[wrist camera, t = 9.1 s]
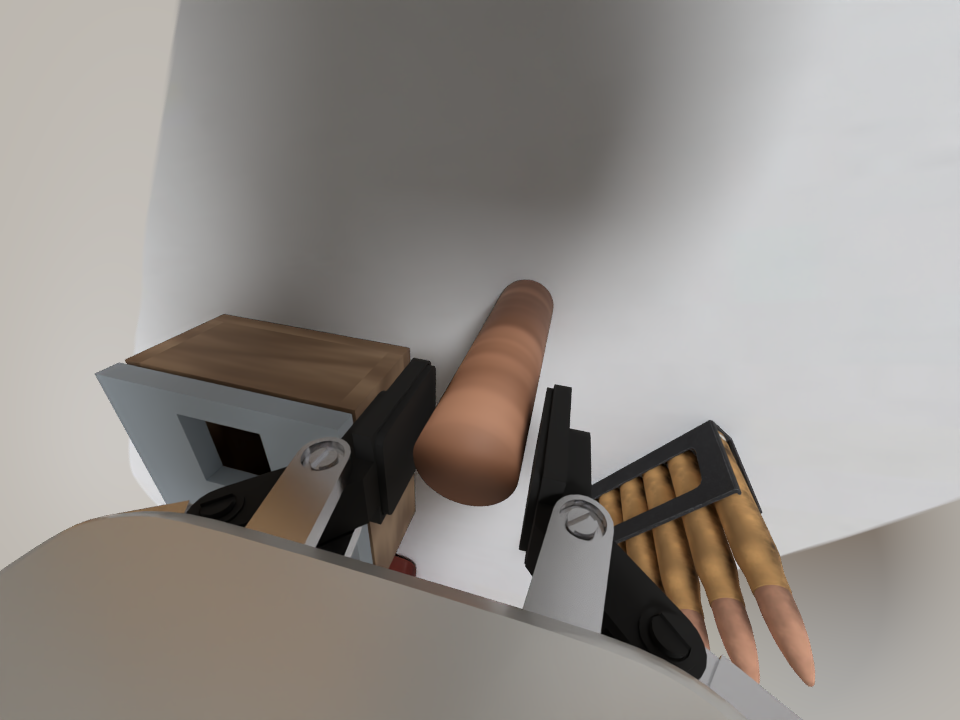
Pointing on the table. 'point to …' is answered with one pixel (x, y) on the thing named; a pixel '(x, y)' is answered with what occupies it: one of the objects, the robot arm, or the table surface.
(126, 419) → the toolbox lid
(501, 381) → the brown rounded cylinder
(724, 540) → the ammunition clip
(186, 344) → the brown hollow box
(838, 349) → the table surface
